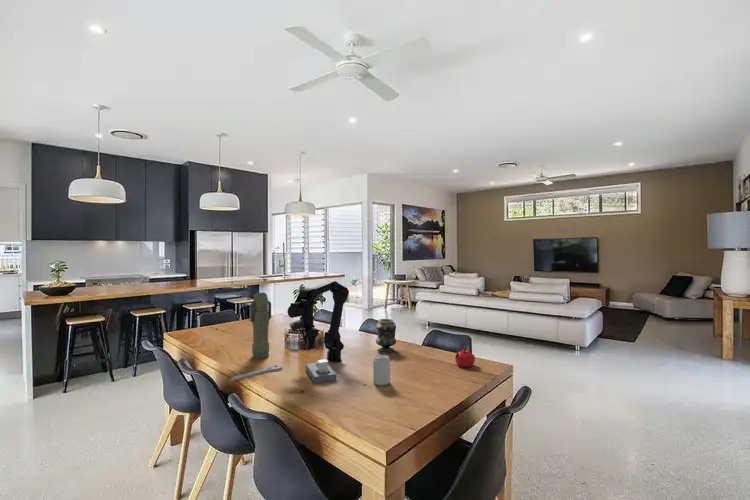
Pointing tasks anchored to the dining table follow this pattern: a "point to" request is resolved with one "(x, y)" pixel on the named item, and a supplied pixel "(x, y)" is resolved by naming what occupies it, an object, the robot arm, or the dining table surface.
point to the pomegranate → (464, 358)
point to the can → (381, 370)
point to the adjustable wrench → (257, 372)
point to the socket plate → (320, 378)
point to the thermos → (260, 325)
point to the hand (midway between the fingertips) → (307, 346)
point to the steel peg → (322, 366)
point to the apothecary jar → (386, 335)
